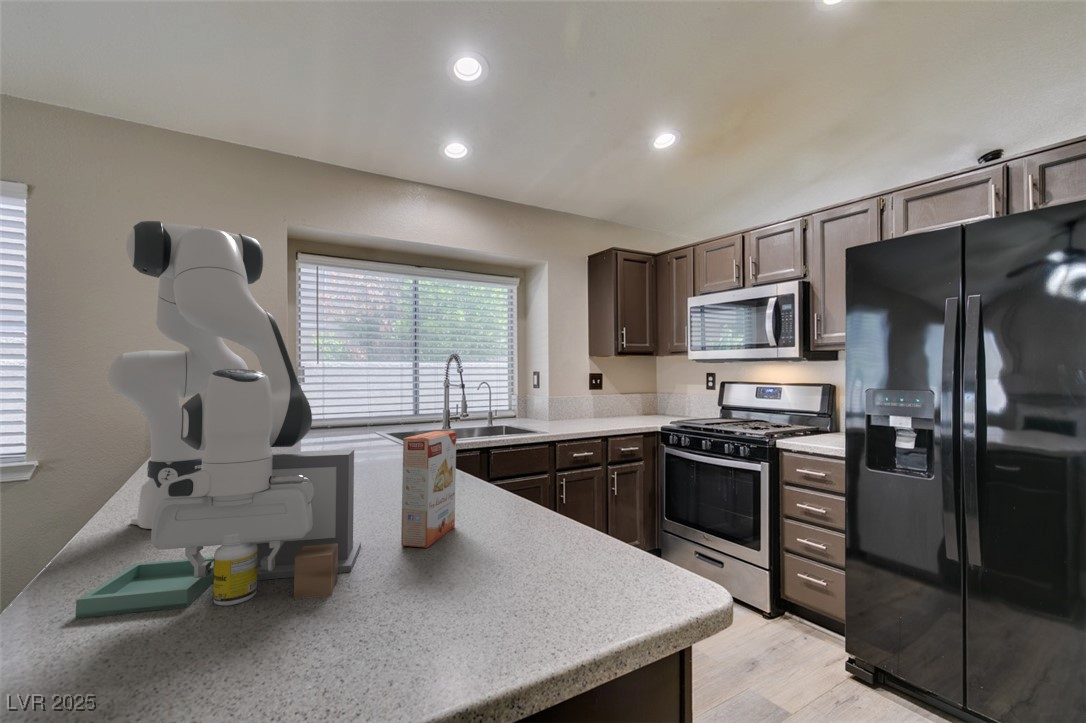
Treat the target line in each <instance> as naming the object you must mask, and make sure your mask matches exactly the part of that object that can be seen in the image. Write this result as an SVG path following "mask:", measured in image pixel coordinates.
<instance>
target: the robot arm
mask: <svg viewBox="0 0 1086 723" xmlns="http://www.w3.org/2000/svg"><path fill="white" fill-rule="evenodd" d="M125 247H126V253H127V257H128V258H129V260H130V262H131V263H132V267H133V269H135V270H136V271H137V272H138V273H141V274H143V275H145V276H149V277H152V278H153V277H154V278H159V281H158V290H157V302H156V303H157V306H156V308H157V309H156V322H155V323H156V326H157V329H158V330H159V332H160V333H161V334H162V335H163V336H165V337H166V338H168V339H169V340H171V341H173V342H176V343H178V344H181V345H183V346H185V347H186V348H187V349H189V350H184V351H183V350H180V351H179V350H152V349H151V350H149V349H148V350H139V351H129V352H124V353H120V355H118V356H117V357H116V358H114V360H113V361H112V363H111V364H110V365H109V369H108V374H107V375H108V376H107V378H108V382H109V384H110V386H111V388H112V389H113V391H114V392H116V393H117V395H119V396H120V397H123V398H124V399H126V400H128V401H129V402H131V403H132V404H133V405H135V406H136V407H137V408H138V410H139V411H140V412H141V414H143V416H144V418H145V420H146V422H147V425H148V427H149V428H148V429H149V437H150V438H149V439H150V460H149V461H148V462H147V467H146V471H147V478H148V480H147V481H146V482H145V483H143V485H141V487H140V492H139V501H138V507H137V515H136V517H132V518H131V520H130V524H131V525H137V526H138V527H139V528H142V529H146V530H147V529H148V530H149V529H151V533H150V542H151V544H152V545H153V546H154V547H155V549H156V550H161V551H162V550H174V549H175V550H176V549H185V551H184V552H185V553H184V555H185V557H186V559H188V560H189V561H190V562H191V564H192V565H193V566H194V577H195V578H199V577H207V576H208V575H209V574H210V573H211V568H210V566H211V561H205V560H204V558H205V557H203V555H202V553H201V551H202V550H203V549H204V547H213V546H214V547H215V546H222V544H224V543H223V541H224V535H234V534H239V540H240V542H239V543H253V542H266V541H269V548H273V547H274V549H273V550H272V552H271V554H270V555H269V556H265V557H264V558H263V559H262V560H261V566H262V567H261V572H265V571H272V570H273V569H274V568H275V556H276V555H277V553H278V552H279V550H280V548H281V547H282V545H283V543H284V540H292V539H302V538H304V537H305V536H306V535H307V534H308V533H309V532H310V530H311V529H312V526H313V516H312V507H311V501H312V500H313V497H314V485H313V483H312V482H311V481H310V480H309V479H307V478H304V476H301V475H296V476H274V477H273V476H272V453H273V450H272V448H292V447H293V446H295V445H296V444H298V443H299V442H300V441H302V440H303V439H304V438H305V437H306V436H307V435H308V433H309V432H310V431H311V428H312V423H313V414H312V409H311V405H310V402H309V401H308V399H307V396H306V394H305V392H304V391H303V389H302V387H301V384H300V383H299V380H298V376H297V374H296V372H295V370H294V366H293V363H292V361H291V358H290V355H289V353H288V352H289V351H288V350H287V346H286V344H285V341H284V339H283V336H282V333H281V331H280V328H279V326H278V324H277V322H276V319H275V318H274V316H273V314H271V313H269V312H268V311H266V310H265V309H263V308H262V307H261V306H260V304H258V302H257V301H256V299H255V298H254V296H253V295H252V293H251V291H250V288H249V285H253V284H254V283H256V282H257V281H258V280H260V279H261V276H262V274H263V271H264V267H265V262H266V261H265V255H264V252H263V248H262V245H261V244H260V243H259V242H258V240H257V239H256V238H253V237H250V236H248V235H244V234H242V233H238V234H236V233H232V232H228V231H226V230H225V231H224V230H221V229H216V228H211V227H208V226H197V225H196V226H195V225H189V224H179V223H162V222H161V220H160V221H158V220H144V221H139V222H138V223H136V224H135V225H133V228H132V230H131V231H130V232H129V234H128V237H127V238H126V246H125ZM224 339H226V340H228V341H231V342H233V343H236V344H238V345H240V346H242V347H244V348H247V349H248V350H250V351H251V352H252V353H253V354H254V355H255V356H256V357H257V359H258V361H259V365H260V367H261V371H259V370H254V369H249V367H248V365H247V363H246V362H245V360H244V359H243V358H242V357H241V356H240V355H237V353H235V352H234V351H232V350H231V349H230V348H229V347H228V346H227V345H226V343H225V342H224ZM181 399H182V400H183V399H188V400H187V401H185V403H184V404H182V405H181V406H180V403H179V401H180V400H181ZM303 481H307V482H303Z"/></svg>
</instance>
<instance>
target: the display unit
mask: <svg viewBox="0 0 1086 723" xmlns="http://www.w3.org/2000/svg"><path fill="white" fill-rule="evenodd" d="M296 475H301V476H304V478H307V479H309V480H310V481H311V482H312V483H313V485H314V497H313V500H312V501H311V507H312V516H313V526H312V529H311V530H310V532H309V533H308V534H307V535H306V536H305V537H304V538H302V539H292V540H284V543H283V545H282V547H281V548H280V550H279V552H278V553H277V555H276V556H275V568H274V569H273V570H272V571H265V572H261V567H262V566H261V560H262V559H263V558H264V557H265V556H269V555H270V554H271V552H272V550H273V549H274V547H273V548H269V541H266V542H254V543H256V545H257V581H265V580H276V579H285V578H294V574H295V557H296V556H297V554H298V553H299V552H300V550H301V549H302V548H303V546H313V545H325V544H337V543H338V565H337V574H338V573H339V574H340V573H348V572H349V573H351V572H352V570H353V568H354V565H355V563H356V560H357V558H358V556H359V552H360V550H361V548H362V541H354V503H355V501H354V499H355V497H354V495H355V494H354V493H355V486H354V485H355V482H354V481H355V449H338V450H336V449H332V450H313V451H311V450H308V451H284V452H282V451H279V452H272V476H273V477H274V476H296ZM303 482H307V481H303Z"/></svg>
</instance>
